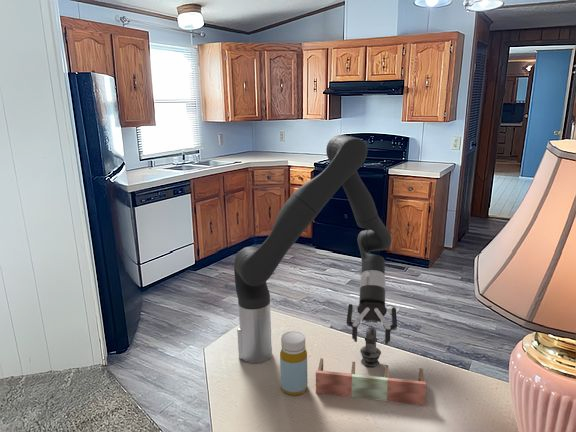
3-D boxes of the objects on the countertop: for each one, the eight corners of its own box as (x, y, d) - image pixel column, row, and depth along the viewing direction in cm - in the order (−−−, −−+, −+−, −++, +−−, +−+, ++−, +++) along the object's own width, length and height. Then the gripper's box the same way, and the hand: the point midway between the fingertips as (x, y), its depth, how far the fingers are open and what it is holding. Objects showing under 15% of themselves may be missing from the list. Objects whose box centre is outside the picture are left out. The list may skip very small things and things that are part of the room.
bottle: (294, 376, 118) (293, 327, 114) (312, 387, 113) (312, 336, 109) (275, 387, 113) (273, 337, 109) (294, 400, 108) (293, 347, 104)
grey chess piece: (379, 357, 126) (381, 320, 123) (381, 369, 120) (383, 330, 117) (359, 356, 126) (360, 319, 123) (360, 368, 121) (361, 330, 118)
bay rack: (315, 392, 111) (315, 372, 109) (320, 370, 120) (320, 351, 118) (425, 405, 105) (426, 384, 104) (421, 381, 114) (422, 361, 113)
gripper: (348, 282, 127) (345, 337, 119) (397, 285, 124) (397, 341, 116) (349, 291, 133) (346, 343, 125) (396, 294, 130) (396, 348, 122)
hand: (370, 342), depth 121 cm, fingers open, 8 cm apart
